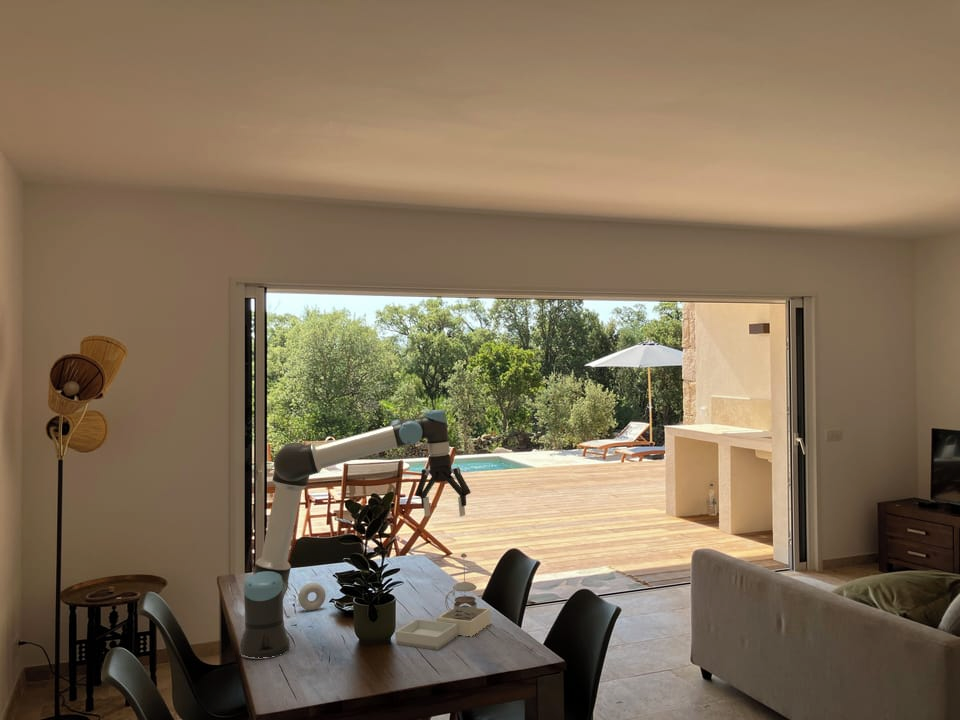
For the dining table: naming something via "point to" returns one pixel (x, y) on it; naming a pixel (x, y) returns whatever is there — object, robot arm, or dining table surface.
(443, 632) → the tray
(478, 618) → the cream open box
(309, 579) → the dining table surface
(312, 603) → the donut
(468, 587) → the french press
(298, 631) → the dining table surface
